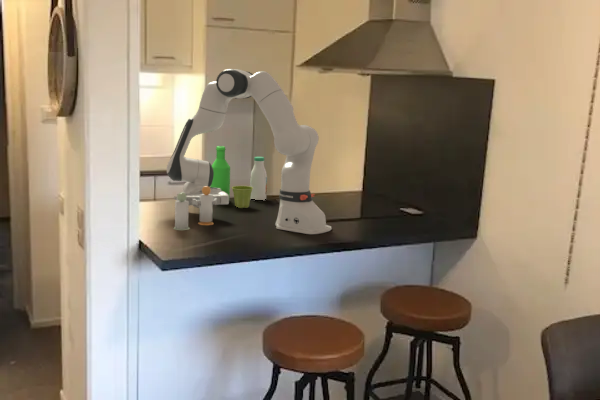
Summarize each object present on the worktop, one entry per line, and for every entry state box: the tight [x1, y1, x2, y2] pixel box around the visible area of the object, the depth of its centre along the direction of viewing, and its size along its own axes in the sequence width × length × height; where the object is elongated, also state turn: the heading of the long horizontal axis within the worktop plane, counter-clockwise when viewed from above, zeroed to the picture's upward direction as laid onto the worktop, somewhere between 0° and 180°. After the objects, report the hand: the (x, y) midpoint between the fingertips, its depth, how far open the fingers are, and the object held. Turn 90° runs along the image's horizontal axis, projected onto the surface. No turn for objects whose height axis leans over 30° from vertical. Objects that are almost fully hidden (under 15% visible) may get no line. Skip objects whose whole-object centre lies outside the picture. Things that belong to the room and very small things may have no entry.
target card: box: [173, 221, 214, 231], centre depth 241 cm, size 10×20×1 cm, turn 141°
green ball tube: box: [174, 191, 189, 231], centre depth 235 cm, size 5×5×13 cm
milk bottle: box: [249, 156, 268, 201], centre depth 299 cm, size 8×8×20 cm
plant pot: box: [231, 185, 253, 209], centre depth 282 cm, size 9×9×9 cm
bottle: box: [210, 145, 231, 200], centre depth 292 cm, size 9×9×25 cm
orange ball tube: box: [199, 186, 214, 222], centre depth 244 cm, size 5×5×13 cm
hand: (206, 203), depth 243 cm, fingers closed on orange ball tube, 5 cm apart
